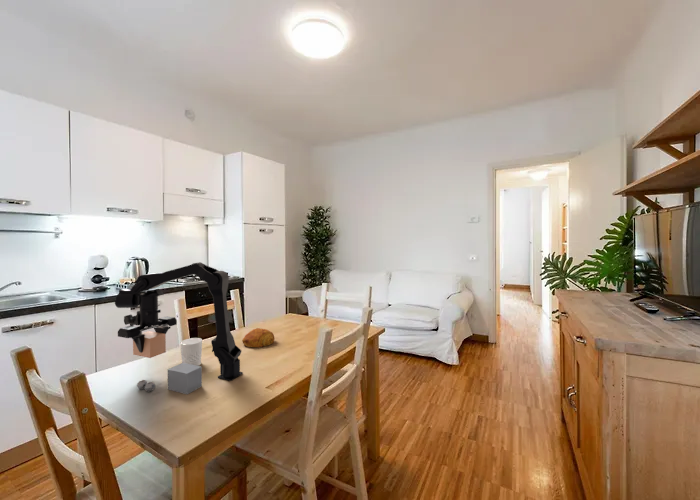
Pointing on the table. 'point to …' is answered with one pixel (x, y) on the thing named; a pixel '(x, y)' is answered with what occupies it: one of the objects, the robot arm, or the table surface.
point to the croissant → (258, 338)
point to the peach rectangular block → (151, 345)
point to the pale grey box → (184, 378)
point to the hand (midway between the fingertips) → (149, 349)
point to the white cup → (191, 351)
